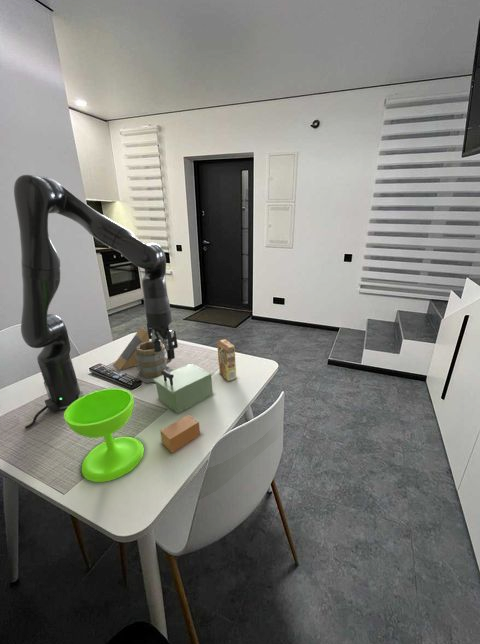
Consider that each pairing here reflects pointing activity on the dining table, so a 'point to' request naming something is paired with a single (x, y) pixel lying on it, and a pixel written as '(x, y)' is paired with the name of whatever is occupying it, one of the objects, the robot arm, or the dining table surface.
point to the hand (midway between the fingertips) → (164, 355)
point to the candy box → (226, 359)
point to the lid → (181, 378)
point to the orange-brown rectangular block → (180, 433)
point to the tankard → (150, 361)
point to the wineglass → (105, 433)
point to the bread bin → (186, 395)
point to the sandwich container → (131, 350)
